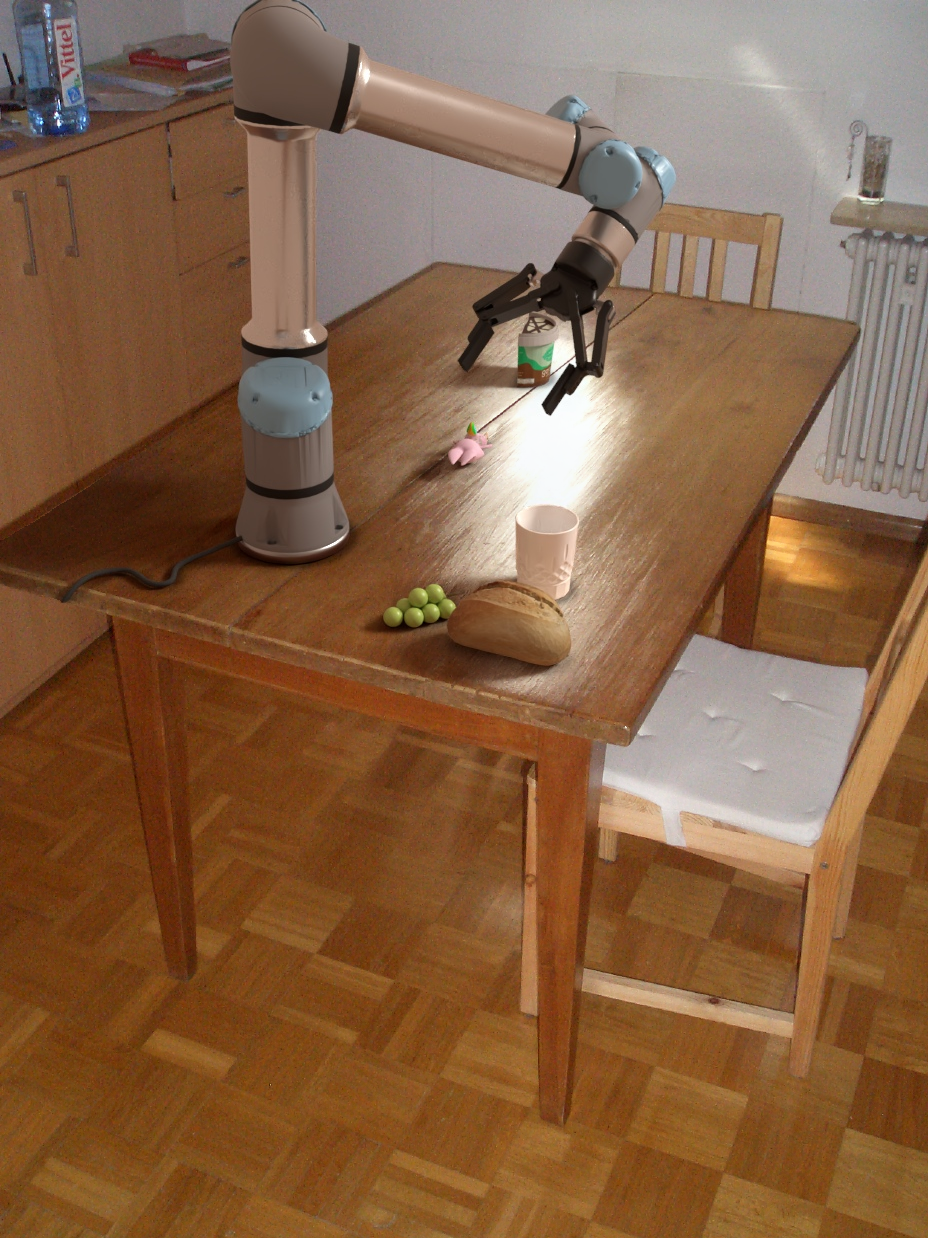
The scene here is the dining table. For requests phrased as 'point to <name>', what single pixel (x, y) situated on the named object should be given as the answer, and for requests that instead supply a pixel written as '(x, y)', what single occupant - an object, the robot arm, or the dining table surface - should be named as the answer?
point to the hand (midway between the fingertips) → (503, 388)
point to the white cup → (546, 547)
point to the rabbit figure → (469, 447)
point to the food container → (536, 350)
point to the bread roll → (512, 623)
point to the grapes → (421, 607)
